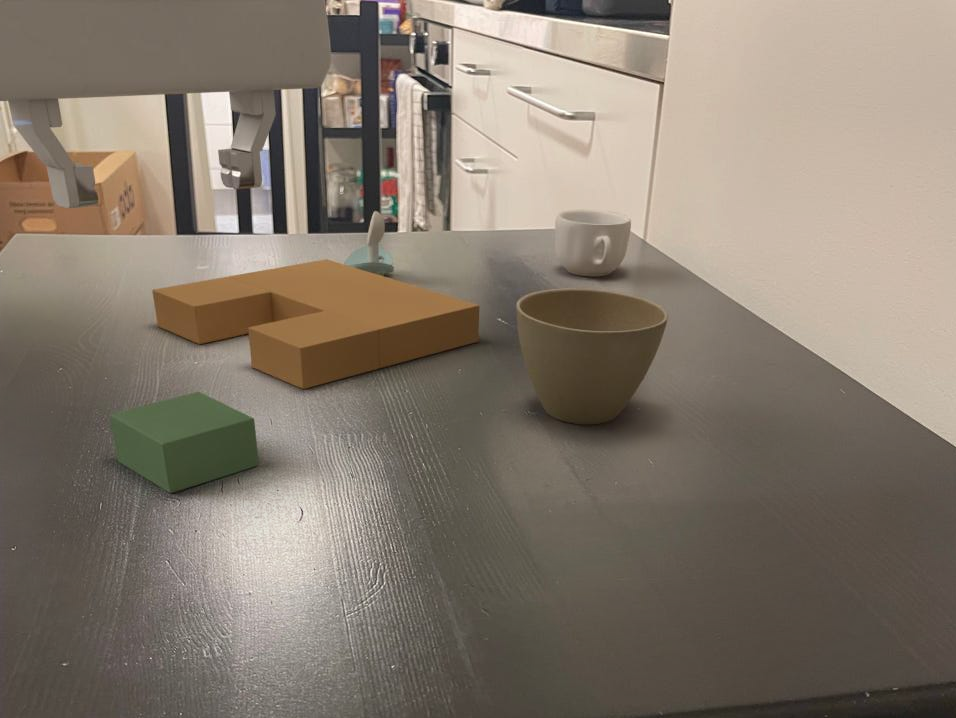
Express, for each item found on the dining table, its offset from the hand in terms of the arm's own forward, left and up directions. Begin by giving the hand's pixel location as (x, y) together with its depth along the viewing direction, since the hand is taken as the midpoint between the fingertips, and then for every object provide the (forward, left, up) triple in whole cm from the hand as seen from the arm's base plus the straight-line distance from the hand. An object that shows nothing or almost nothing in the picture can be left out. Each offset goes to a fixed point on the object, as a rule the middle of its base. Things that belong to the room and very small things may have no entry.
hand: (164, 196), depth 49 cm
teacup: (-16, +57, -15) cm, 61 cm away
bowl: (+9, +25, -15) cm, 30 cm away
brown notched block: (-17, +22, -15) cm, 31 cm away
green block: (-1, 0, -15) cm, 15 cm away
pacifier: (-29, +37, -15) cm, 49 cm away
